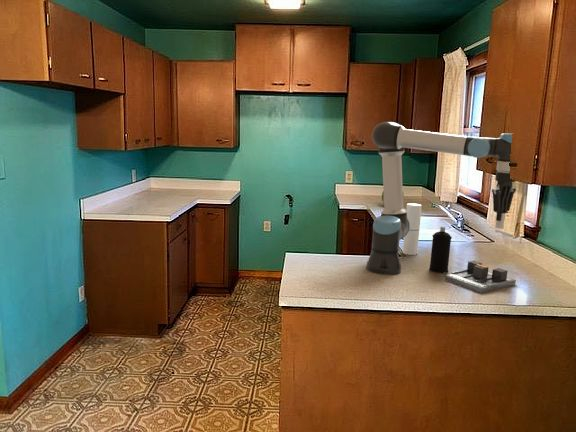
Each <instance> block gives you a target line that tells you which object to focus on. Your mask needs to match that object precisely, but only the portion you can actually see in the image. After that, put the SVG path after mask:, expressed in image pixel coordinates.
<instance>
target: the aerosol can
mask: <svg viewBox="0 0 576 432" xmlns="http://www.w3.org/2000/svg"><path fill="white" fill-rule="evenodd" d="M431 237H432V241H431V242H432V243H431V253H430V262H429V268H428V270H429V271H430V272H432V273H436V274H448V273H449V260H450V253H451V243H452V235H450V234H449V233H448V232H446V227H445V226H440V230H439V231H436V232H435V233H433V234H432V236H431Z"/></svg>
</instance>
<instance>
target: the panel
mask: <svg viewBox="0 0 576 432" xmlns="http://www.w3.org/2000/svg"><path fill="white" fill-rule="evenodd" d="M477 264H479V265H483V262H480V261H477V260H470V261H468V262H467V268H466V269H462V270H458V271H453V272H452V271H451V272H450V273H449V274H448V273H447V274H445V275H444V279H445V280H444V281H447V280H448V281H447V282H449V281H451V282H450V283H452V282H453V284H455V283H456V285H458V284H459V285H458V286H460V285H461V287H463V286H464V287H463V288H466V287H467V288H466V289H468V288H469V289H468V290H471V291H475V292H477V293H479V294H484V293H487V292H488V293H489V292H491V291H496V290H500V289H504V288H508V287H511V286H515V285H516V281H517V280H516V279H513V278H509V277H508V269H507V270H506V269H502V268H500V267H498V268H492V271H488V276H487V278H484V279H480V278H477V277H474V276H473V271H474V266H476V265H477Z"/></svg>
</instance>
